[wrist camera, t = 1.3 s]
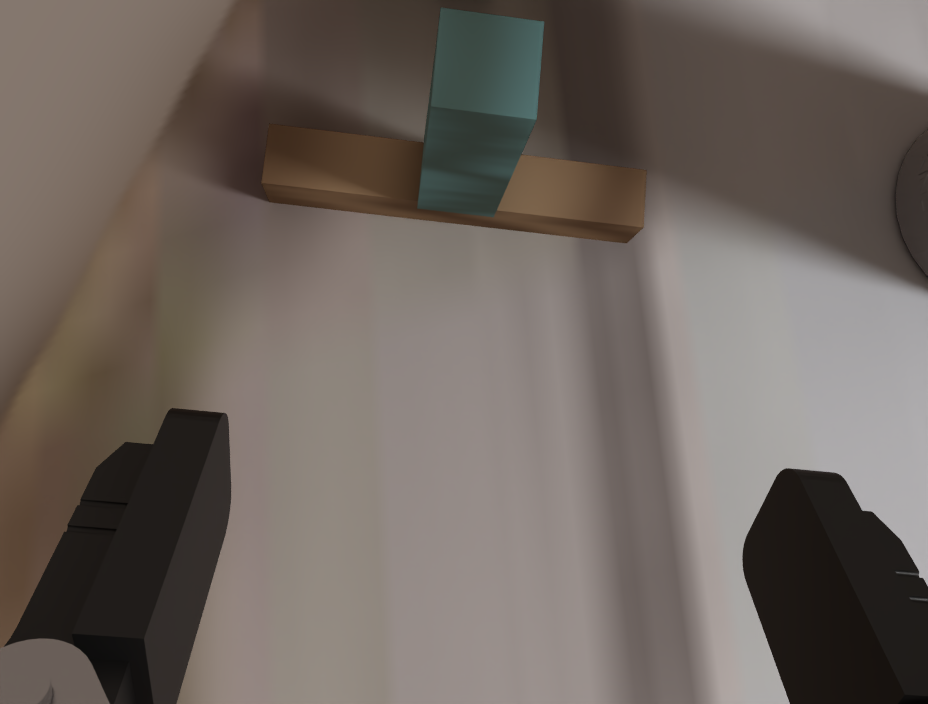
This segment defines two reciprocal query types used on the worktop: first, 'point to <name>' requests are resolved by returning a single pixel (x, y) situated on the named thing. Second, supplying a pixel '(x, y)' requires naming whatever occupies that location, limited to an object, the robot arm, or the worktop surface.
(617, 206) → the beam
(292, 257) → the worktop surface
